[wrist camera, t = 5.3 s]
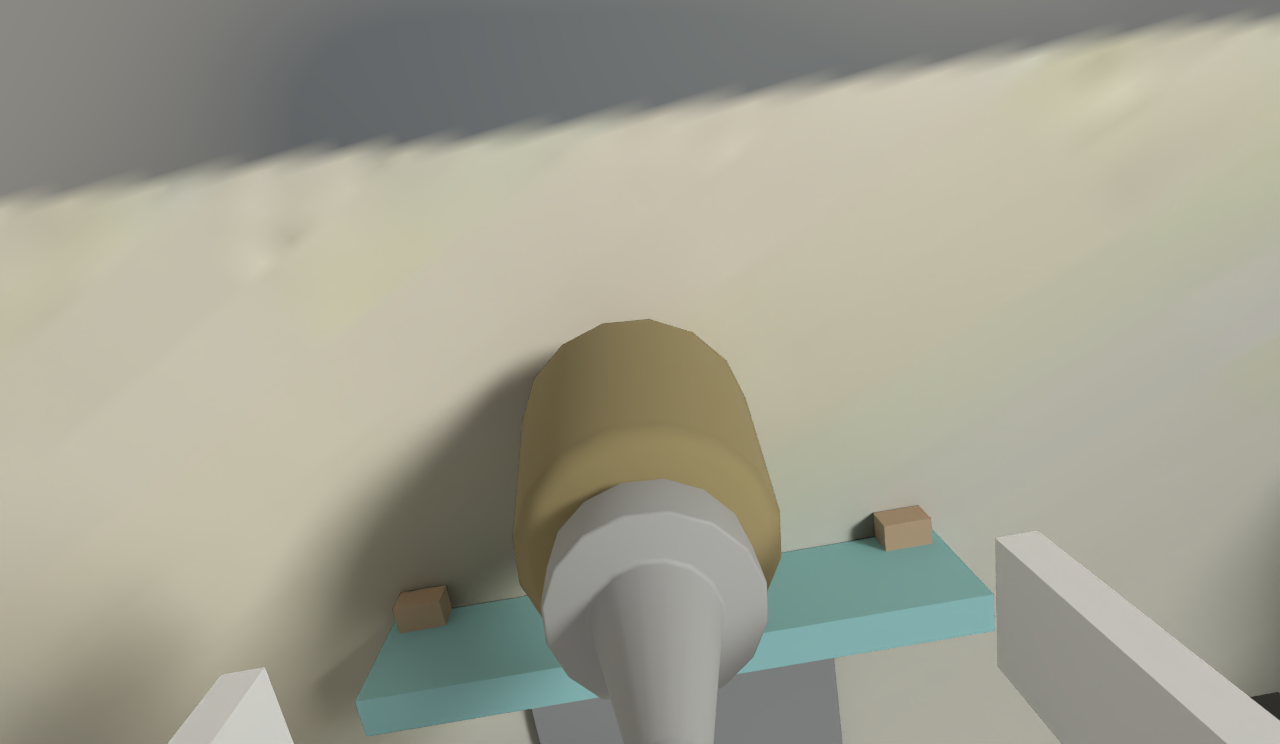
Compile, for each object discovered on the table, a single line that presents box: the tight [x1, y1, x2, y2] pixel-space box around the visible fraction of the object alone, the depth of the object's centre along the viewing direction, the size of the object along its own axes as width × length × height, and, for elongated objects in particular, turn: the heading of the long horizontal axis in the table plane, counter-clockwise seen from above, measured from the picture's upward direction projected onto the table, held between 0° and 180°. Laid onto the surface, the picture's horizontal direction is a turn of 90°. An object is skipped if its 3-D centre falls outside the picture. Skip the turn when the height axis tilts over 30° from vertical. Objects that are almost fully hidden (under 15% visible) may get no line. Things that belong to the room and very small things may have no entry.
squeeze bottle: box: [513, 319, 781, 744], centre depth 18 cm, size 8×8×18 cm
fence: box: [355, 505, 995, 737], centre depth 27 cm, size 4×24×5 cm, turn 99°
